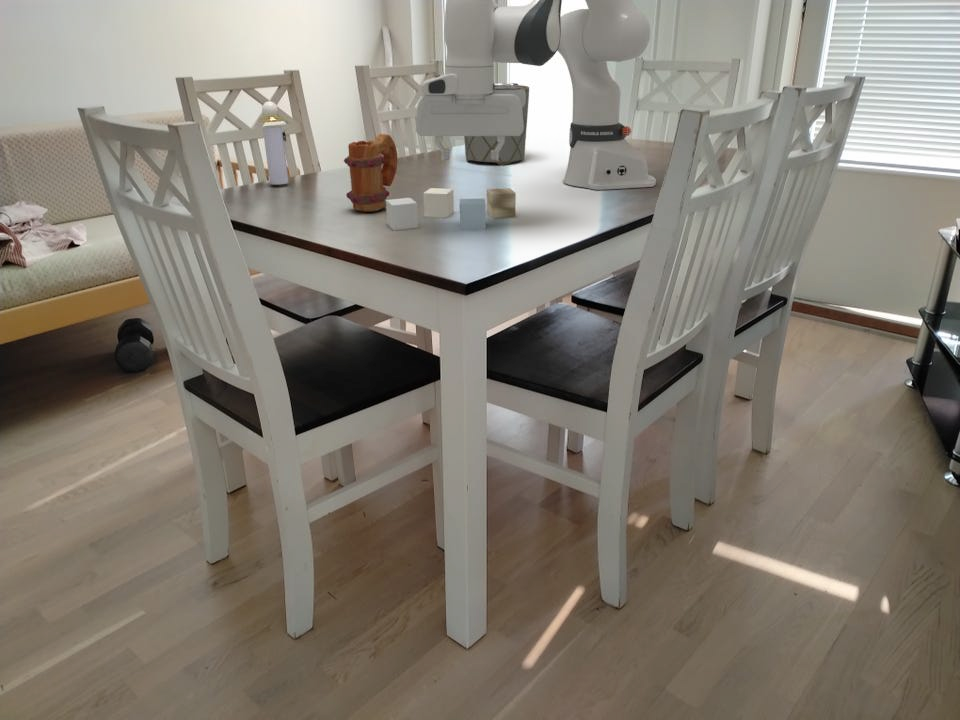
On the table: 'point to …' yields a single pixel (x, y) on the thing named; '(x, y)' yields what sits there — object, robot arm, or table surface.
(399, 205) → the grey cube
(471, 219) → the pale blue cube
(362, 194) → the mug
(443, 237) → the table surface
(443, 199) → the cream cube
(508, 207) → the birch cube
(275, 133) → the perfume bottle
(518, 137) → the planter
